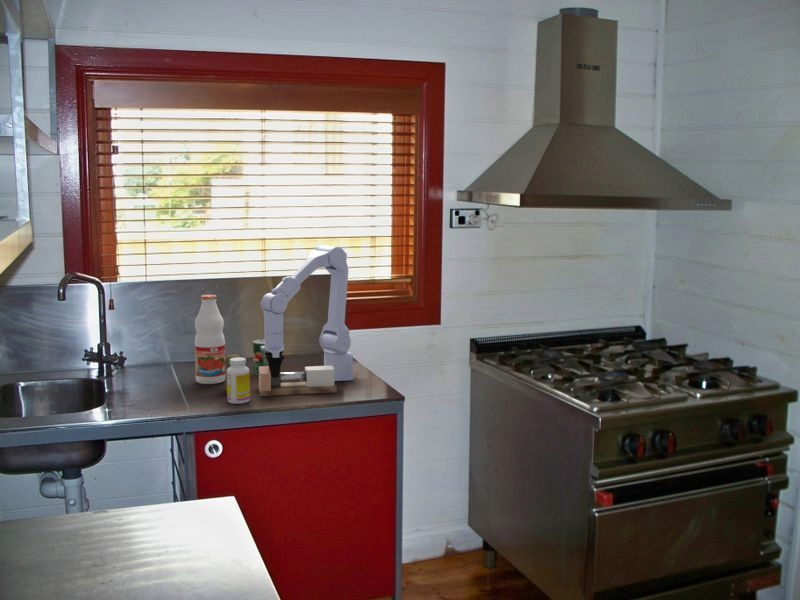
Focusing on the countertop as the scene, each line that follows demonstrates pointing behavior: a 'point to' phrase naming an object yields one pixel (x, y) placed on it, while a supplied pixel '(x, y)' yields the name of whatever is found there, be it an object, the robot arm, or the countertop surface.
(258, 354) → the canned tomato
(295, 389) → the tan board
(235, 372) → the supplement bottle
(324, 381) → the sleeve
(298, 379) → the tube
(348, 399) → the countertop surface
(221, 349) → the fruit juice
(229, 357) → the olive tan rounded piece
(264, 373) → the socket block
